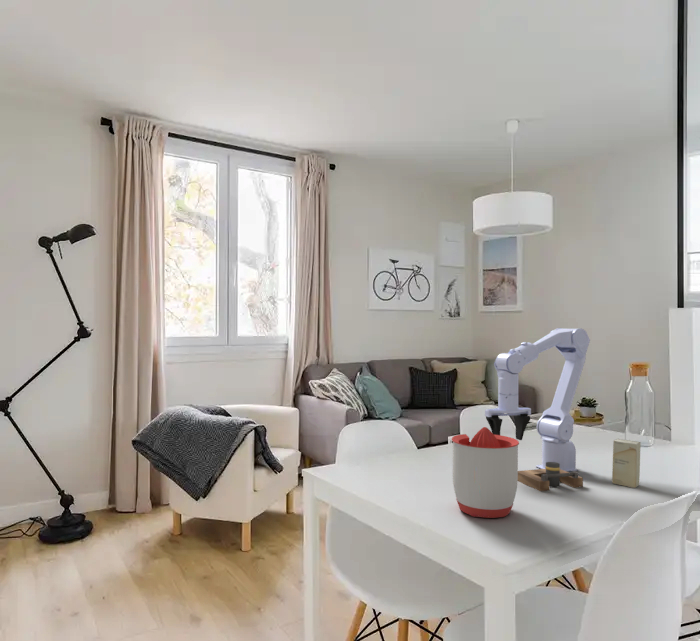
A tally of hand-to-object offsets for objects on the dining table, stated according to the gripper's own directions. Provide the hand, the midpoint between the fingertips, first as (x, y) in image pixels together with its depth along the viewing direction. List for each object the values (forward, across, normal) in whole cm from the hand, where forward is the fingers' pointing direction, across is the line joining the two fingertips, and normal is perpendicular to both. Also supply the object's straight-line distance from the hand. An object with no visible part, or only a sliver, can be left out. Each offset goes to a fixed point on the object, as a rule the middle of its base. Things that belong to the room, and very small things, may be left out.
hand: (507, 440), depth 162 cm
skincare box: (+11, -27, +17) cm, 34 cm away
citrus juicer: (+11, +23, +24) cm, 35 cm away
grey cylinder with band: (+10, -7, +12) cm, 17 cm away
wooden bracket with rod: (+10, -6, +10) cm, 16 cm away
